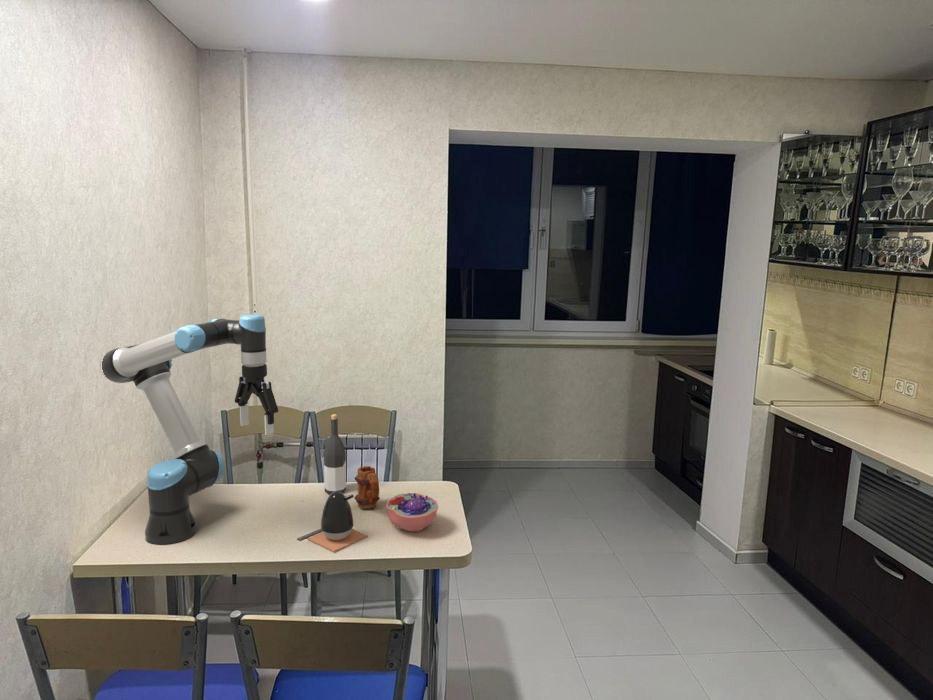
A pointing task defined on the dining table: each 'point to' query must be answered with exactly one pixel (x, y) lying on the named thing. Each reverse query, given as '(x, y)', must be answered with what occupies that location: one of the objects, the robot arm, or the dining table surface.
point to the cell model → (411, 511)
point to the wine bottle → (334, 461)
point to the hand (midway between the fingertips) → (256, 429)
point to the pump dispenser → (337, 516)
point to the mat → (337, 544)
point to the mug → (367, 487)
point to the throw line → (309, 534)
